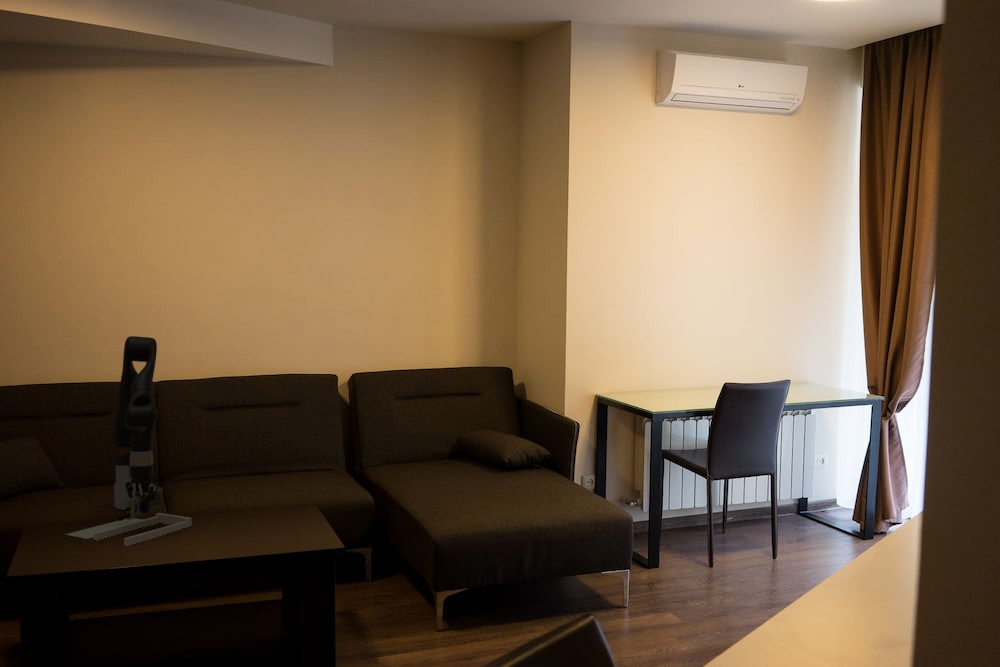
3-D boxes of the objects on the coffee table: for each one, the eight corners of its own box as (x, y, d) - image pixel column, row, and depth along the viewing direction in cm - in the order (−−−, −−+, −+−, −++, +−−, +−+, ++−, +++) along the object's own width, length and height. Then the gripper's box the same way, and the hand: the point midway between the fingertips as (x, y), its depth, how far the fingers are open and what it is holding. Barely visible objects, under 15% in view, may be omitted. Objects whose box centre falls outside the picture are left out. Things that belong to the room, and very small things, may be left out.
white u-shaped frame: (93, 540, 308) (93, 530, 308) (158, 522, 334) (158, 512, 334) (127, 546, 301) (127, 535, 301) (191, 527, 327) (191, 517, 327)
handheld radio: (164, 506, 329) (124, 523, 304) (155, 505, 330) (115, 522, 305) (164, 487, 329) (124, 503, 304) (155, 487, 329) (115, 503, 305)
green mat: (64, 535, 314) (64, 534, 314) (130, 518, 339) (130, 517, 339) (87, 539, 309) (87, 538, 309) (151, 522, 334) (151, 520, 334)
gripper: (164, 463, 316) (164, 512, 317) (135, 459, 323) (135, 507, 323) (147, 467, 310) (147, 517, 310) (118, 463, 316) (118, 512, 317)
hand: (141, 512), depth 317 cm, fingers closed on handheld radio, 3 cm apart
